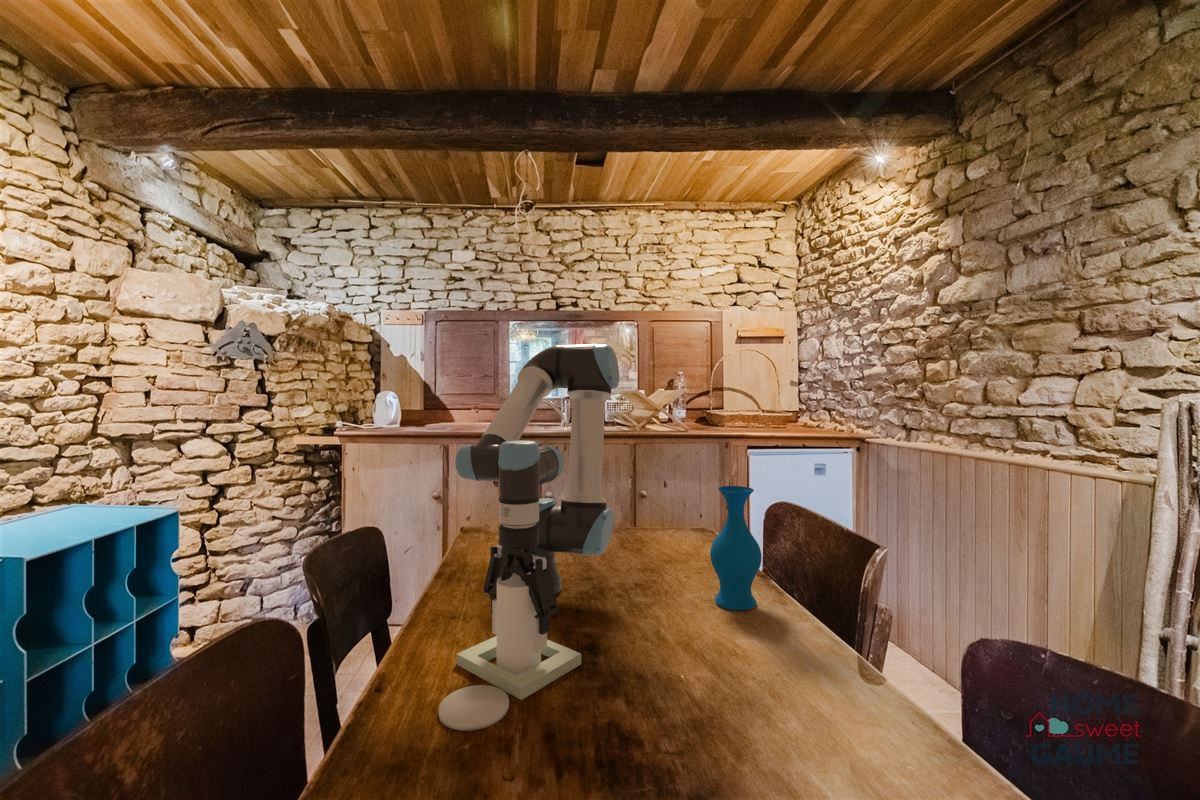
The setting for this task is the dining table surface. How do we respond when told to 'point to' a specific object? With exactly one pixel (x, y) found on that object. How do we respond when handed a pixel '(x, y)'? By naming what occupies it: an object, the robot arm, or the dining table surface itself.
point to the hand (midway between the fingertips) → (518, 640)
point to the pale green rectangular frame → (527, 680)
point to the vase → (735, 554)
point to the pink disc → (473, 707)
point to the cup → (515, 626)
